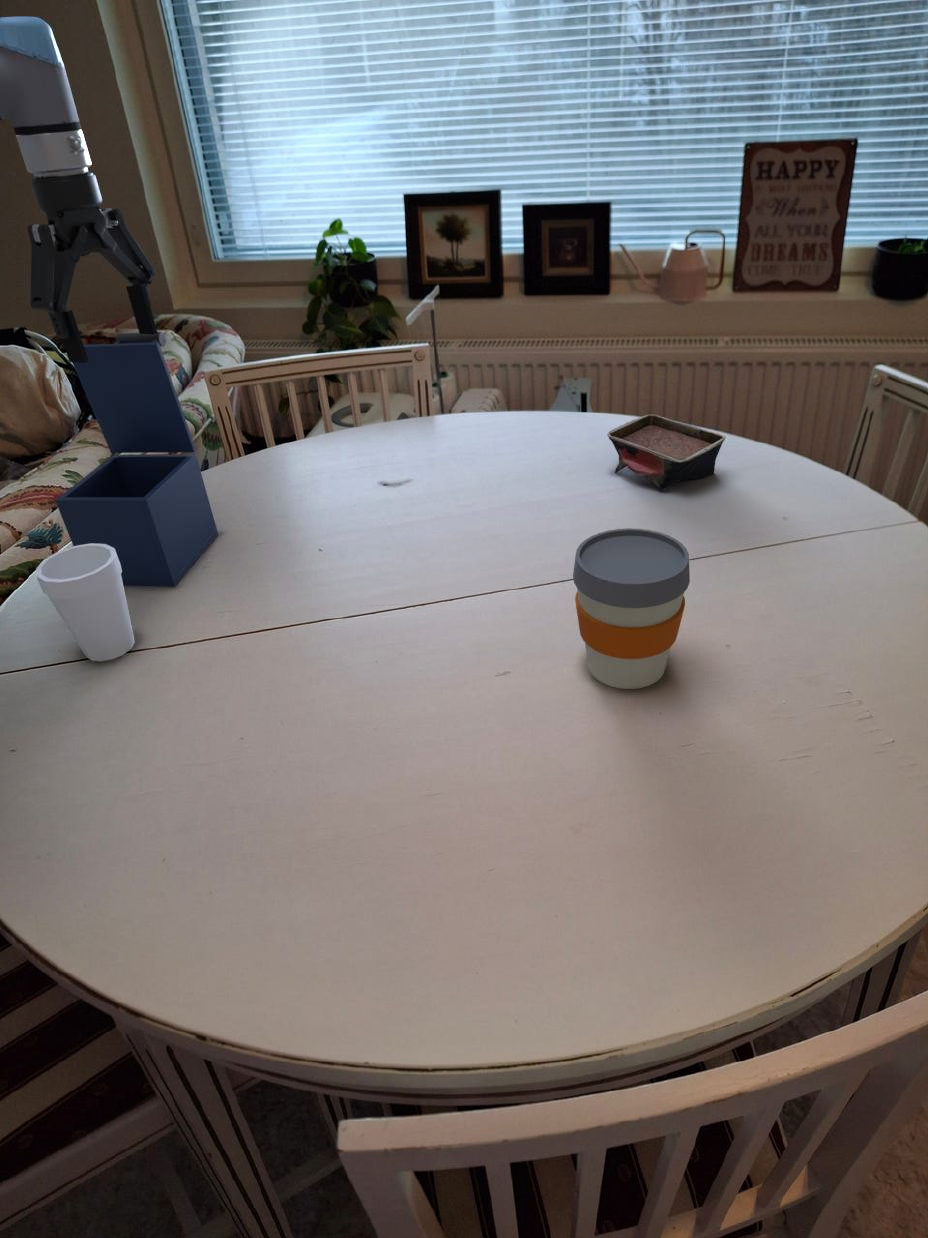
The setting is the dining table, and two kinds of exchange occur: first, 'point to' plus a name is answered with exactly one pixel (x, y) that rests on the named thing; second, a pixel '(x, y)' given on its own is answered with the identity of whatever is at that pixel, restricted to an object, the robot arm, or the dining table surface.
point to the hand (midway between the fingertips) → (115, 347)
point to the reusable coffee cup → (630, 603)
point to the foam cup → (89, 598)
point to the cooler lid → (134, 395)
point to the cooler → (143, 515)
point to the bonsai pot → (665, 449)
